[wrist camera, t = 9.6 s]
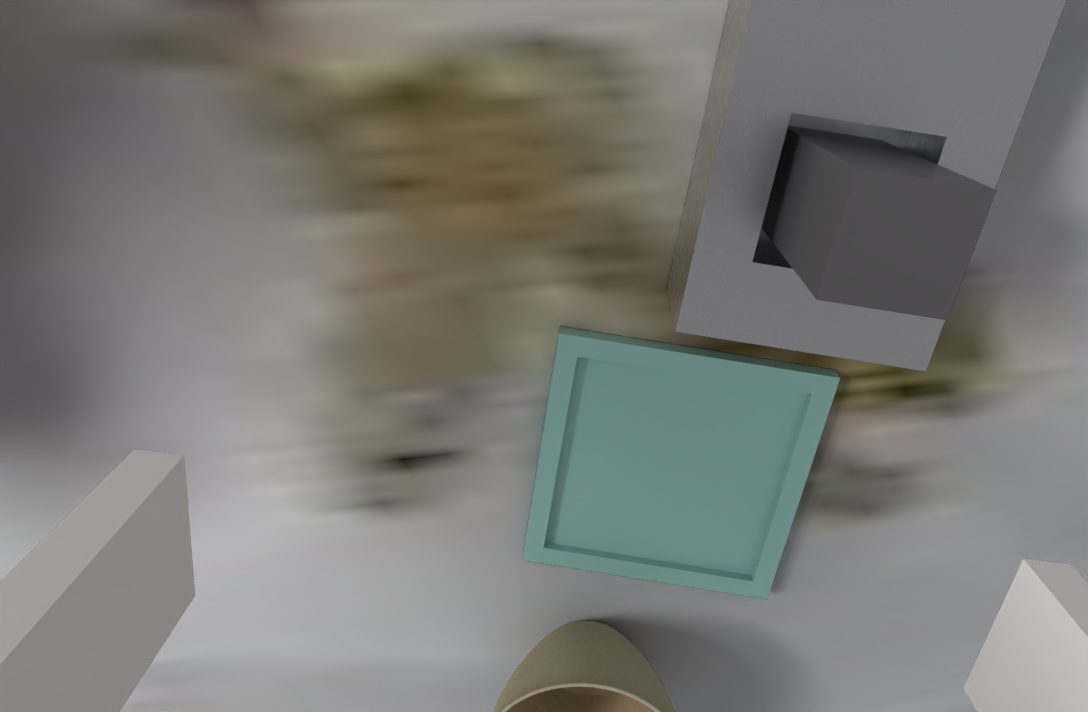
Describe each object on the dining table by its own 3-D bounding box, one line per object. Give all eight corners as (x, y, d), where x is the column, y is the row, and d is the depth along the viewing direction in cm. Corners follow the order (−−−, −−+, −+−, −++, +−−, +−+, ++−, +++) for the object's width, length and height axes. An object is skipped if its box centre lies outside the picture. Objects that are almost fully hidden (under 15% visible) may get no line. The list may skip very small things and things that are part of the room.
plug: (756, 221, 33) (816, 299, 24) (781, 124, 31) (856, 167, 22) (850, 236, 33) (946, 320, 24) (880, 139, 31) (996, 190, 22)
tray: (523, 549, 42) (522, 560, 41) (560, 326, 36) (559, 333, 35) (763, 588, 41) (767, 599, 41) (835, 369, 36) (840, 377, 35)
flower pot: (704, 617, 43) (723, 726, 36) (634, 737, 47) (639, 855, 40) (534, 559, 42) (521, 659, 35) (476, 686, 46) (455, 797, 39)
